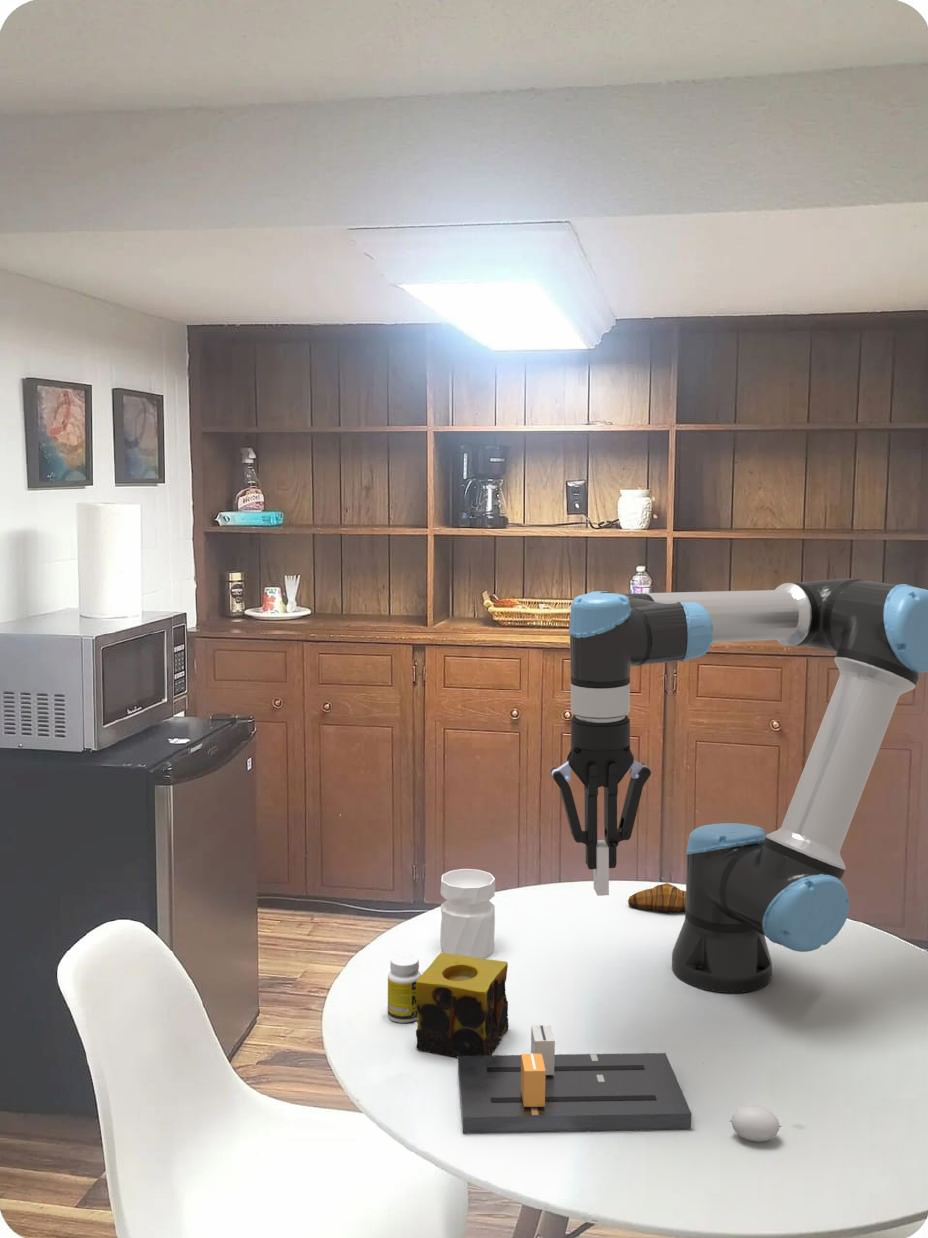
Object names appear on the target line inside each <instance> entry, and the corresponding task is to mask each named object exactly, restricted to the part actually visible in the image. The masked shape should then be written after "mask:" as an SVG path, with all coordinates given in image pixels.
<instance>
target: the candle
mask: <svg viewBox="0 0 928 1238" xmlns="http://www.w3.org/2000/svg"><path fill="white" fill-rule="evenodd" d="M508 964H509V963H508V962H507V961H505V960H496V959H495V960H494V959H489V958H485V959H482V958H475V957H468V956H461V955H454V954H446V953H443V952H440V953H439V954H438V955H437V956H436V957H435V959H434V960H433V961H432V962H431V964H429V966H428V967H427V968H426V969H425V970H424V971H423V972H422V973H421V976H420V977H419V978H418V979H417V980H416V1005H417V1010H418V1013H417V1020H416V1021H417V1025H416V1026H417V1027H416V1030H415V1035H416V1036H415V1037H416V1045H415V1047H416V1049H417V1050H419V1051H422V1052H427V1053H432V1054H438V1055H441V1056H447V1057H454V1058H458V1056H487V1055H492V1053H494V1052H495V1050H496V1049H497V1047H498V1046H499V1044H500V1042H501V1041H502V1039H501V1037H502V1036H503V1035H504V1034H505V1033H506V1032H508V1029H509V1027H510V1026H509V1018H508V1016H509V1007H508V1006H509V1002H508V998H507V994H506V981H507V977H508V976H507V975H508V974H507V973H508V967H509V965H508Z"/></svg>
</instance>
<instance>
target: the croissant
mask: <svg viewBox="0 0 928 1238" xmlns="http://www.w3.org/2000/svg"><path fill="white" fill-rule="evenodd" d="M627 903H628V906H629V907H631V908H634V909H637V910H643V911H650V912H658V913H663V914H664V913H666V914H673V913H674V914H675V913H678V914H679V913H684V914H685V908H686V907H685V905H686V890H683V889H680V888H679V887H677V886H676V885H672V884H671V883H668V882H667V883H662V884H658V885H655V886H653V887H652V888H647V889H644V890H641V891H637V892H635V893H634V894H632V895H630V896H628V900H627Z"/></svg>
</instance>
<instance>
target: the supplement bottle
mask: <svg viewBox="0 0 928 1238" xmlns="http://www.w3.org/2000/svg"><path fill="white" fill-rule="evenodd" d="M419 962H420V961H419V957H418V956H416V955H414V954H410V953H401V954H395V955H393V956H392V957H391V958H390V970H389V972H388V974H387V1017H388V1018H389V1019H390V1020H391V1021H392V1022H396V1023H403V1024H406V1023H412V1022H416V1021H417V1020H418V1019H417V1013H418V1010H417V1005H416V980H417V979H418V978H419V977H420V976H421V975H422V973H421V971H420V969H419V968H420V963H419Z"/></svg>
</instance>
